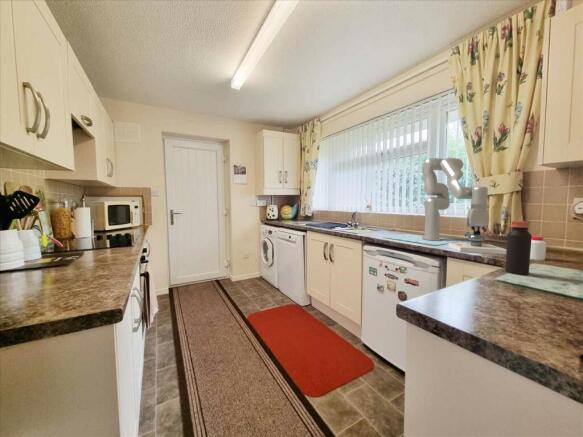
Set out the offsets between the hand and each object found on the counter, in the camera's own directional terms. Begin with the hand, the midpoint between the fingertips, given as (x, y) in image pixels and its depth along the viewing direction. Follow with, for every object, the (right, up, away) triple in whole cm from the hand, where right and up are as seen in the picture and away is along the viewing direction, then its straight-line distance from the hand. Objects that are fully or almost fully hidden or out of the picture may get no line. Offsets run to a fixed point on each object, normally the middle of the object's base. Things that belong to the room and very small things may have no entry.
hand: (476, 237), depth 146 cm
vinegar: (-25, -10, -53) cm, 59 cm away
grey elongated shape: (-5, -4, -3) cm, 7 cm away
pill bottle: (+7, -9, -27) cm, 29 cm away
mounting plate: (-6, -7, -7) cm, 12 cm away
